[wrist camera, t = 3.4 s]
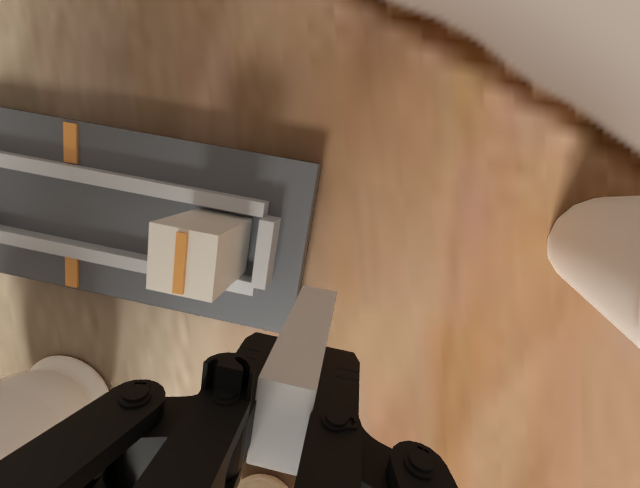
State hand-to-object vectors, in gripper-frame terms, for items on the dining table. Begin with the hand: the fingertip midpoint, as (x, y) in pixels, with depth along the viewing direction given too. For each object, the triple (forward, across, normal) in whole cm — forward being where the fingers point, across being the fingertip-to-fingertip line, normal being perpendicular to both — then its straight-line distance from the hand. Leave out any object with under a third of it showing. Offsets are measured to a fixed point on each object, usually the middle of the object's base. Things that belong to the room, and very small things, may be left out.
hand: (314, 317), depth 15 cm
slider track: (+12, +16, 0) cm, 20 cm away
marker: (+10, +20, 0) cm, 22 cm away
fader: (+10, +8, 0) cm, 13 cm away
